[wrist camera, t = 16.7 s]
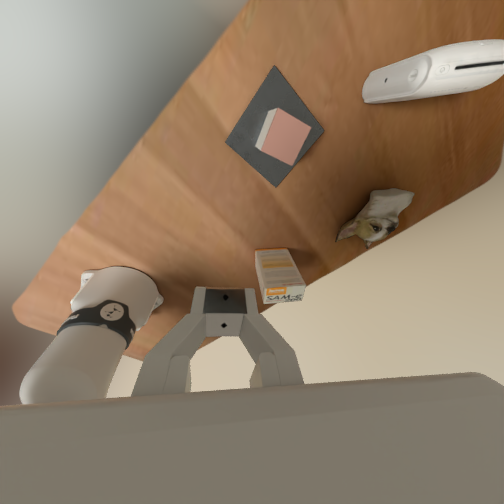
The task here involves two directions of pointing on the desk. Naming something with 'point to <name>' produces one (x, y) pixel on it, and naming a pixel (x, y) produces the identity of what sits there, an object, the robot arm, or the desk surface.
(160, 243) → the desk surface
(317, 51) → the desk surface
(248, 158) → the grey square base plate
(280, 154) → the pink and white block
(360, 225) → the ceramic sculpture
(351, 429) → the robot arm
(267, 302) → the supplement box
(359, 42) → the desk surface
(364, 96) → the photo printer
